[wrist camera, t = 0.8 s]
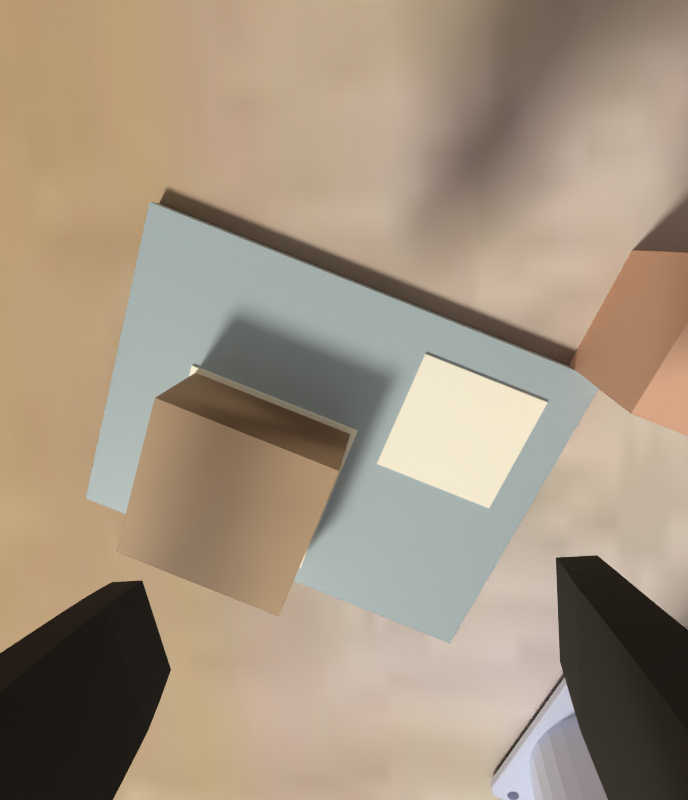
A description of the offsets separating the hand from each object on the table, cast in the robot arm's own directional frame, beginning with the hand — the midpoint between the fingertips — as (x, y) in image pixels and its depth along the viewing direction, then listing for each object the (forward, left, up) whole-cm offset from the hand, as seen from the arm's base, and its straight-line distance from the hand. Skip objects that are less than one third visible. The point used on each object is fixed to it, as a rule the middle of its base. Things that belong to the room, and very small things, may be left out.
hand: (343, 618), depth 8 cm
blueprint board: (+2, +2, -10) cm, 10 cm away
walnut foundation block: (+4, +4, -10) cm, 11 cm away
